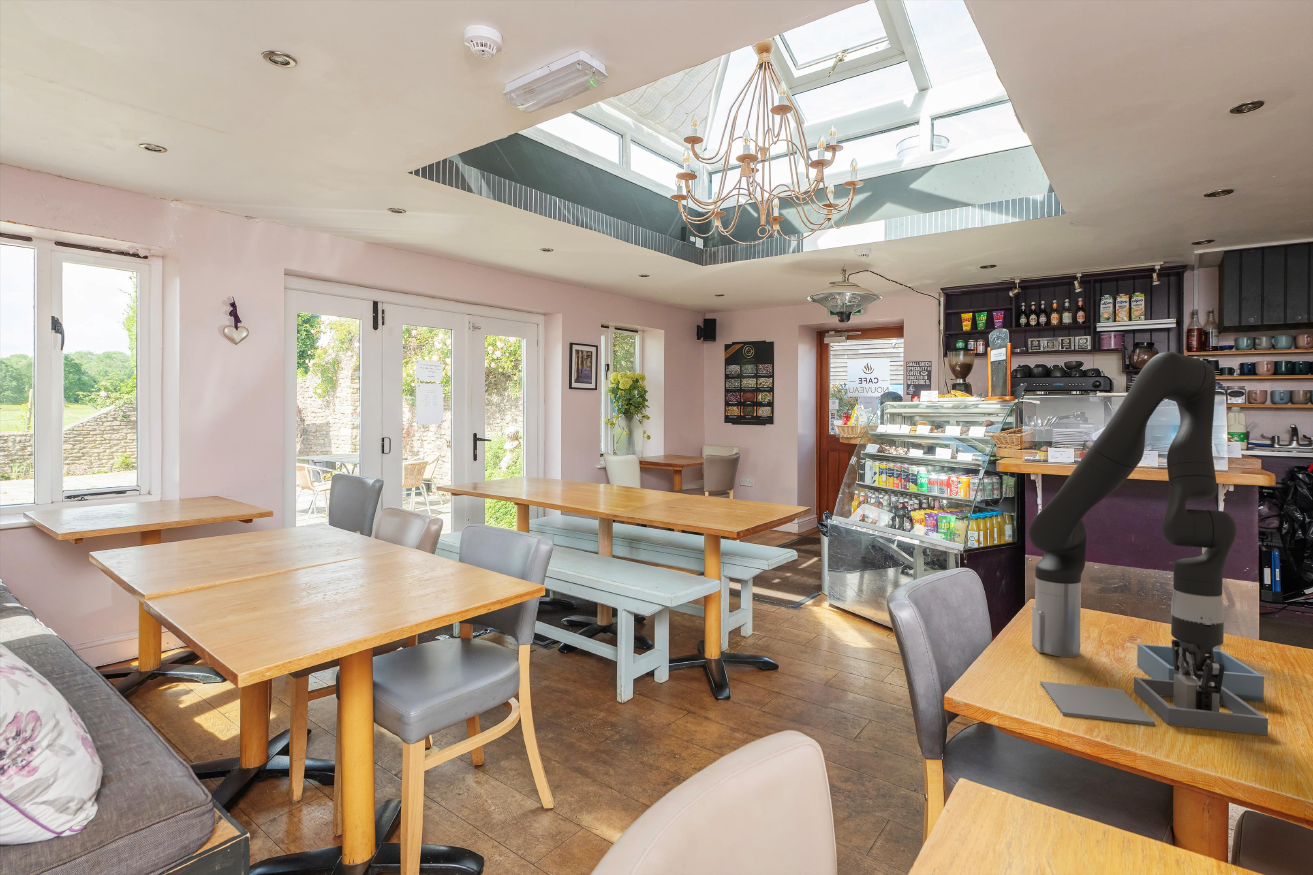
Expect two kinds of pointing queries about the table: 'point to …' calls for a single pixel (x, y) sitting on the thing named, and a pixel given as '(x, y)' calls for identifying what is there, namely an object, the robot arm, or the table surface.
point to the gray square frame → (1238, 721)
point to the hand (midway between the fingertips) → (1195, 704)
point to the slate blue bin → (1235, 675)
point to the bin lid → (1096, 703)
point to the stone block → (1189, 693)
